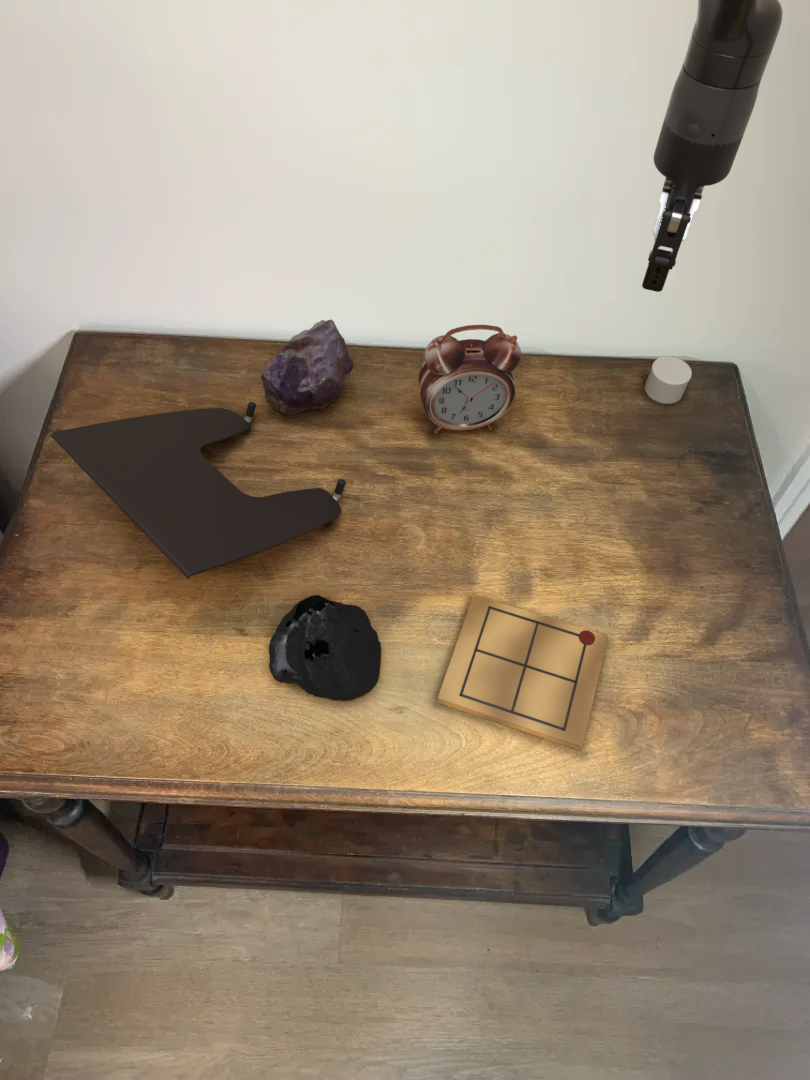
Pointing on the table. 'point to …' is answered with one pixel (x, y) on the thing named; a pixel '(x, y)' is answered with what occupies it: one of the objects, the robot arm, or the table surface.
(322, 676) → the rock
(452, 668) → the board
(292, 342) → the rock
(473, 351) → the alarm clock
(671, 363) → the stone
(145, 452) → the laptop tray
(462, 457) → the table surface
